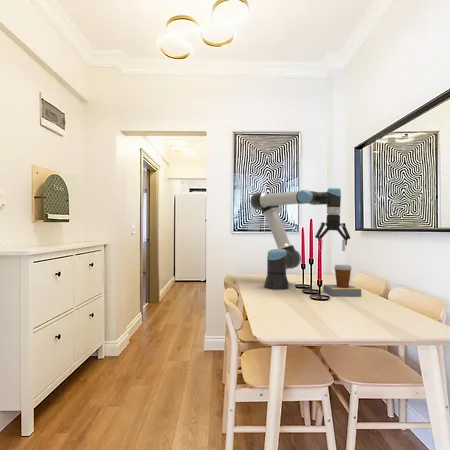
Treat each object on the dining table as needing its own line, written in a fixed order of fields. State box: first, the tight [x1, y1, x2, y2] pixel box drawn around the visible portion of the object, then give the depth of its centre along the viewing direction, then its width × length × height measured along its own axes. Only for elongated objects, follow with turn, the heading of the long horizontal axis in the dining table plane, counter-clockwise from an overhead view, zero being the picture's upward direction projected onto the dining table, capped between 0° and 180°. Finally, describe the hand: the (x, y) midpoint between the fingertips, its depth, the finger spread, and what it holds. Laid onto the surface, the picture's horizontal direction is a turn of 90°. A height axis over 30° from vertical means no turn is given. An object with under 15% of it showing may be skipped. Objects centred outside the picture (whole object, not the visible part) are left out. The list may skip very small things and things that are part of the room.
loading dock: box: [322, 284, 362, 297], centre depth 186 cm, size 16×14×4 cm
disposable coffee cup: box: [333, 264, 353, 288], centre depth 187 cm, size 10×10×12 cm
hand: (332, 250), depth 193 cm, fingers open, 13 cm apart
